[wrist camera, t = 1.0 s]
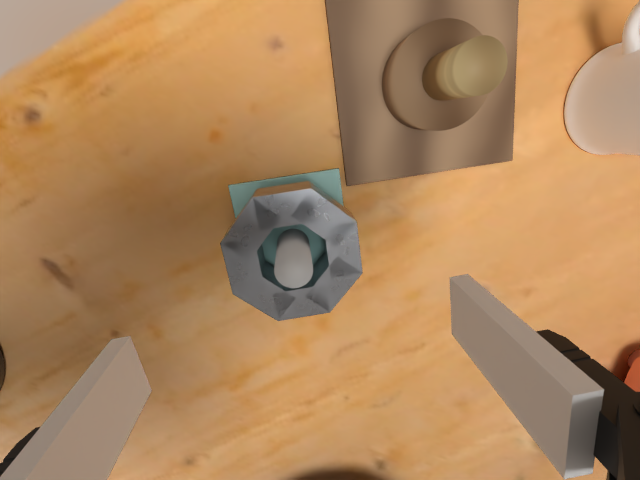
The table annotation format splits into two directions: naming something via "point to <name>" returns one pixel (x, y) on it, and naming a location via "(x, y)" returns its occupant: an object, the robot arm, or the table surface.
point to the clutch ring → (258, 275)
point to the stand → (291, 228)
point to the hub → (423, 84)
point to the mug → (608, 97)
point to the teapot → (634, 371)
